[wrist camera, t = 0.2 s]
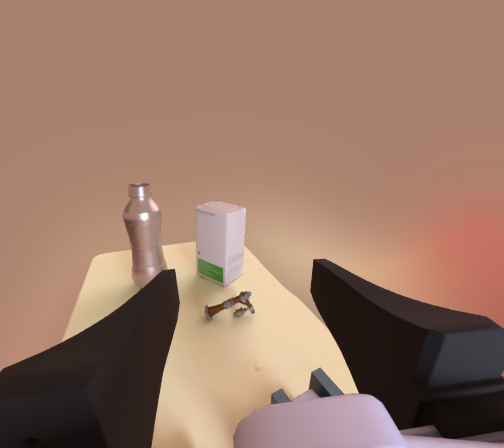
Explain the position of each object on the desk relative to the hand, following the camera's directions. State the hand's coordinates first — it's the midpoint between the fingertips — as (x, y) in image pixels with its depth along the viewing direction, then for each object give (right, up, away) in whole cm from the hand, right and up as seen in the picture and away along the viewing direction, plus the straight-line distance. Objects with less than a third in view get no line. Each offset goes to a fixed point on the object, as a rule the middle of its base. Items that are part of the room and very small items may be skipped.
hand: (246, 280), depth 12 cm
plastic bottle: (-20, -9, +36) cm, 42 cm away
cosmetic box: (-6, -8, +40) cm, 42 cm away
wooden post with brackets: (-4, -13, +28) cm, 31 cm away
